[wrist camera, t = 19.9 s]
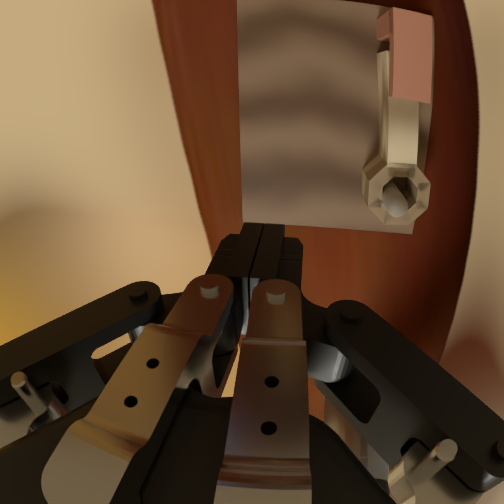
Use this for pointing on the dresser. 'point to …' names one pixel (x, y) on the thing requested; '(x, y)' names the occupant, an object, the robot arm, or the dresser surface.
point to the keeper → (408, 53)
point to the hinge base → (314, 113)
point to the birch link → (395, 153)
